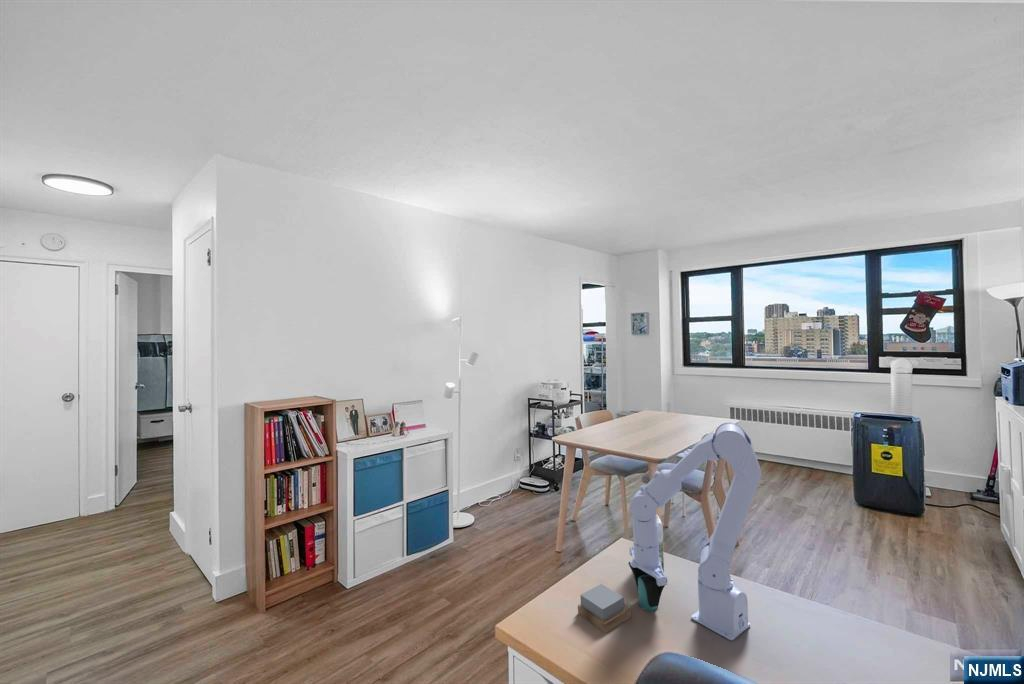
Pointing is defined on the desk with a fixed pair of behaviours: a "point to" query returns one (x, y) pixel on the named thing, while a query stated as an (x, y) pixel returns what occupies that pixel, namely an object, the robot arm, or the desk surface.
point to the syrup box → (660, 542)
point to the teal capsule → (644, 596)
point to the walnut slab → (608, 622)
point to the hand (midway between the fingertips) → (648, 599)
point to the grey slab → (602, 601)
